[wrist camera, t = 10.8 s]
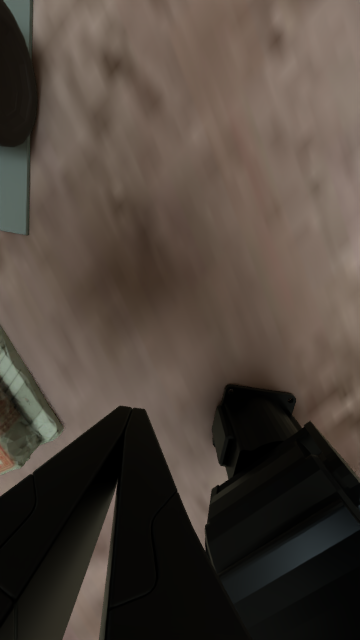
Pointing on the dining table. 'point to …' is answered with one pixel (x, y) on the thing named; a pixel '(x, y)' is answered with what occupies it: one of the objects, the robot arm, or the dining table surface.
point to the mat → (16, 149)
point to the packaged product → (21, 411)
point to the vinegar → (15, 83)
